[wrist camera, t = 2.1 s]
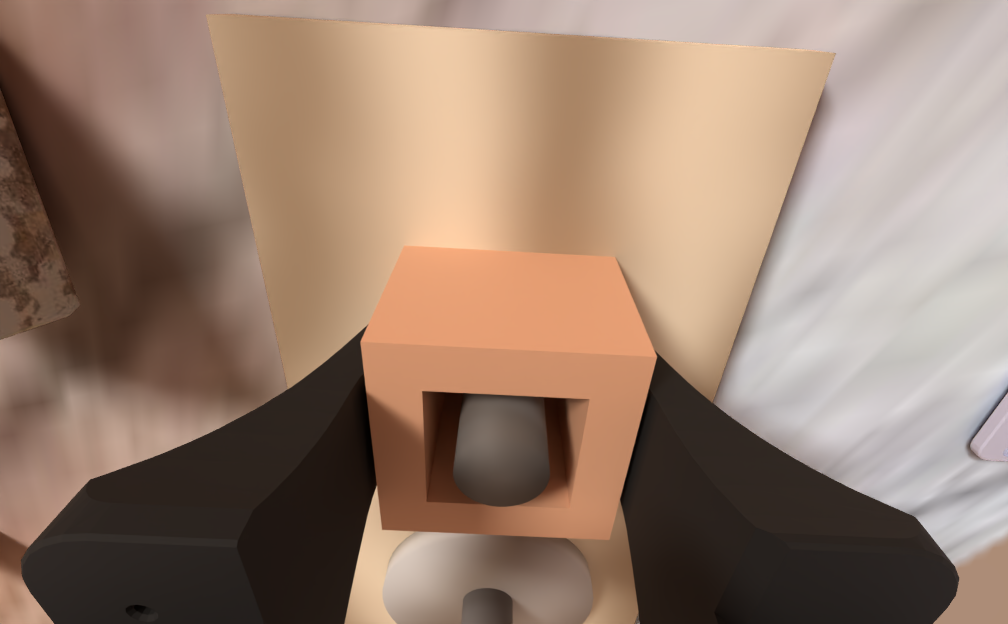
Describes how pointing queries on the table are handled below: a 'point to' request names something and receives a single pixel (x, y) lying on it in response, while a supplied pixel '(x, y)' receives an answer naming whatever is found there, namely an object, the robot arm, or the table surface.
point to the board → (507, 237)
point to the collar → (504, 383)
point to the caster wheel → (27, 246)
